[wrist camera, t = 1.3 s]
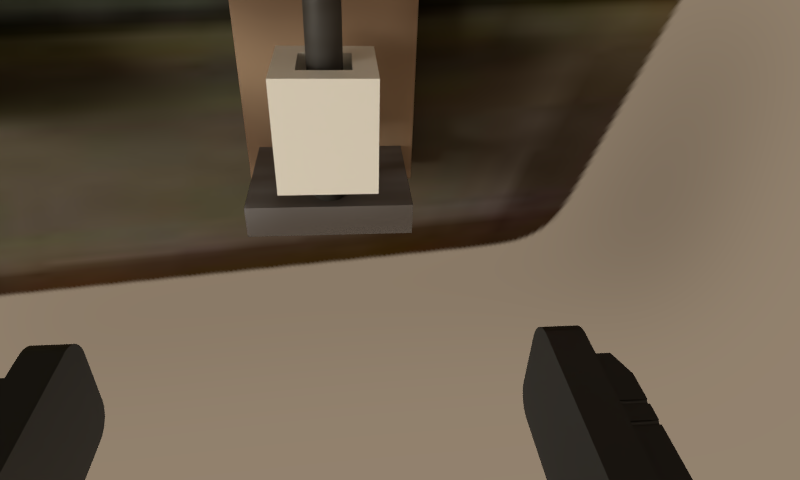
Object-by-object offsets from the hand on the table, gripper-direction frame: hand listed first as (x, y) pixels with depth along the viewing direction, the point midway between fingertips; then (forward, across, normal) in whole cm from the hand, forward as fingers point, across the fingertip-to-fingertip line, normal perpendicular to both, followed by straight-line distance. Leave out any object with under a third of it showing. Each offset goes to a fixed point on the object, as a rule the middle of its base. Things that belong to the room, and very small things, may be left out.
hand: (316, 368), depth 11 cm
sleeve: (+13, 0, 0) cm, 13 cm away
